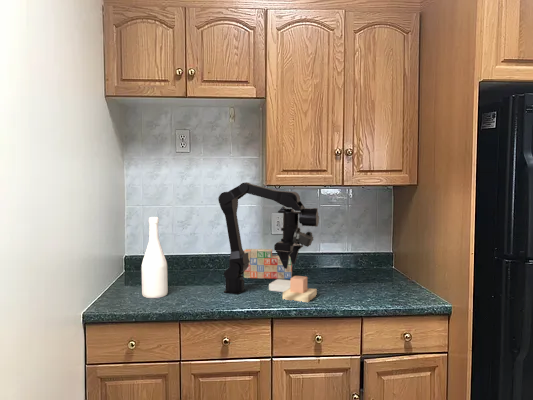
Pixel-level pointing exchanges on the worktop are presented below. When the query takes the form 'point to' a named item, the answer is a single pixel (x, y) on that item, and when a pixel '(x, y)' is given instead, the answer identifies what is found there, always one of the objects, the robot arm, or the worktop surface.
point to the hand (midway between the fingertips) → (289, 266)
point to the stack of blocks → (266, 265)
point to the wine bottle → (154, 265)
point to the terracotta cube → (298, 284)
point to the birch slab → (300, 295)
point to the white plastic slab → (279, 285)
